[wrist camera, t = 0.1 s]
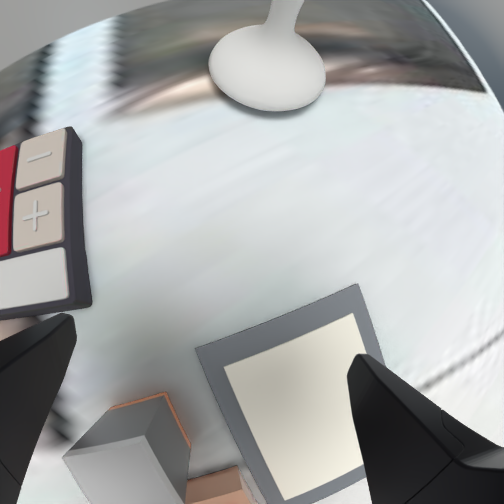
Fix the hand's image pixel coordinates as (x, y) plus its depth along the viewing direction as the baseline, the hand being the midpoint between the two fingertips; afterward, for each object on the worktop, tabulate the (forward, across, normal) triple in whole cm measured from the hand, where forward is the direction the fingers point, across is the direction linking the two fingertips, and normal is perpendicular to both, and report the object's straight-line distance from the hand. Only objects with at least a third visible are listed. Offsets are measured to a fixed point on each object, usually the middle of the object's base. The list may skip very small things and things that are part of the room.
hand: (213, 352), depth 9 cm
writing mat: (+9, -9, +14) cm, 19 cm away
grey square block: (+8, +4, +16) cm, 18 cm away
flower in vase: (+26, -2, -13) cm, 29 cm away
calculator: (+16, +17, +4) cm, 24 cm away
